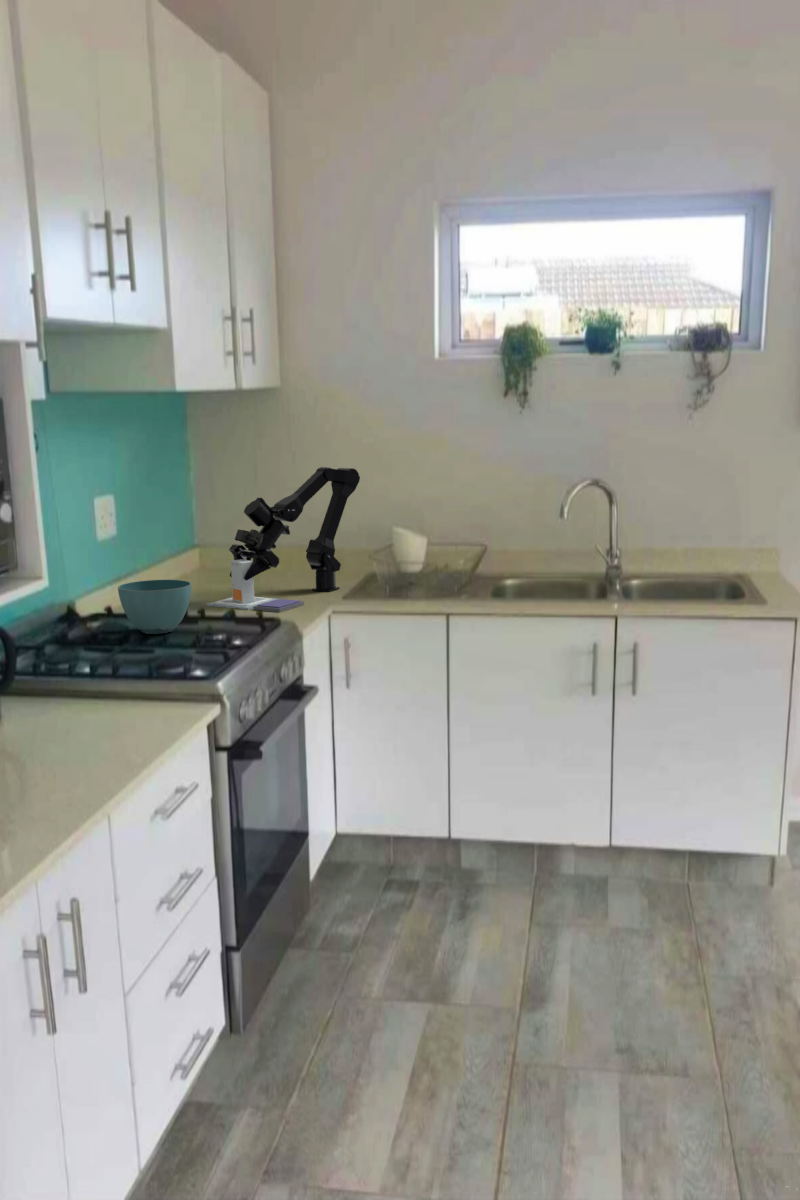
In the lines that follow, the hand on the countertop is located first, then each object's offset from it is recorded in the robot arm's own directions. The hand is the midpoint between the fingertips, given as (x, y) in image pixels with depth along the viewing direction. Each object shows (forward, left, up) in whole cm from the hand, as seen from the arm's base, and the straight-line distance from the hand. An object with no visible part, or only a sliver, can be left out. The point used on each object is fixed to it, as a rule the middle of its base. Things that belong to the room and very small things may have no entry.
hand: (237, 578), depth 301 cm
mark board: (-1, 0, -8) cm, 8 cm away
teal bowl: (+40, +4, -8) cm, 41 cm away
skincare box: (-1, +1, -7) cm, 7 cm away
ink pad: (0, +14, -8) cm, 16 cm away
